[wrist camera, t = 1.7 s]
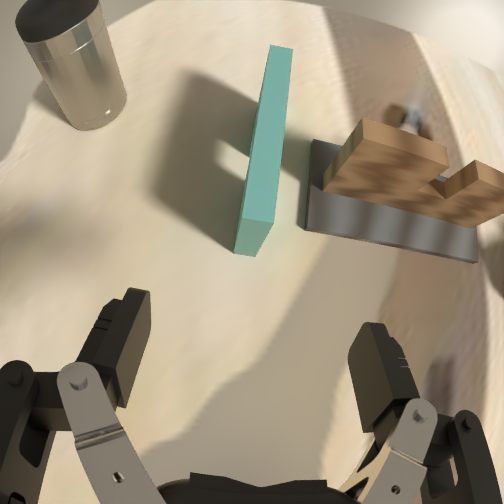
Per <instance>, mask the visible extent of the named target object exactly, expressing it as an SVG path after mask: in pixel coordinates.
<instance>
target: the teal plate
mask: <svg viewBox="0 0 504 504" xmlns="http://www.w3.org/2000/svg"><path fill="white" fill-rule="evenodd" d="M292 52H293V49H289V48H284V47H279V46H274V45H270V49H269V54H268V59H267V63H266V68H265V73H264V78H263V82H262V87H261V92H260V97H259V102H258V107H257V112H256V118H255V124H254V130H253V135H252V141H251V147H250V153H249V157H250V160H249V166H248V170H247V175H246V180H245V185H244V190H243V196H242V202H241V209H240V215H239V221H238V228H237V234H236V241H235V247H234V254H240V255H247V256H253V257H255V256H256V254H257V252H258V251H259V249H260V247H261V245H262V243H263V242H264V240H265V238H266V236H267V234H268V233H269V231H270V229H271V227H272V225H273V224H274V217H275V209H276V200H277V192H278V183H279V175H280V166H281V157H282V148H283V139H284V130H285V121H286V111H287V102H288V92H289V82H290V72H291V62H292Z"/></svg>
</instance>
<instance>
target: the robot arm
mask: <svg viewBox="0 0 504 504" xmlns="http://www.w3.org/2000/svg"><path fill="white" fill-rule="evenodd" d="M15 24H16V28H17V31H18V32H19V35H20V36H21V38H22V40H23V42H24V44H25V46H26V47H27V49H28V51H29V53H30V55H31V57H32V58H33V60H34V62H35V64H36V66H37V67H38V69H39V71H40V73H41V75H42V77H43V78H44V80H45V82H46V84H47V85H48V87H49V89H50V91H51V92H52V94H53V96H54V97H55V99H56V101H57V103H58V104H59V106H60V108H61V109H62V111H63V113H64V114H65V116H66V118H67V119H68V121H69V122H70V124H71V125H72V126H73V127H75V128H76V129H79V130H93V129H97V128H100V127H102V126H104V125H106V124H108V123H109V122H111V121H112V120H113V119H114V118H116V117H117V116H118V115H119V113H120V112H121V111H122V109H123V107H124V106H125V103H126V91H125V88H124V85H123V82H122V78H121V75H120V71H119V68H118V65H117V62H116V58H115V55H114V52H113V48H112V45H111V41H110V38H109V34H108V31H107V27H106V24H105V20H104V17H103V13H102V9H101V5H100V2H99V0H28V1H27V2H26V3H25V4H24V5H23V6H22V7H21V9H20V10H19V12H18V14H17V17H16V20H15ZM150 330H151V305H150V292H149V291H147V290H141V289H136V288H131V287H130V288H128V290H127V292H126V294H125V296H124V298H123V300H118V299H113V300H111V301H110V302H109V303H108V304H106V305H105V306H104V307H103V309H102V311H101V312H100V314H99V316H98V319H97V320H96V322H95V324H94V327H93V328H92V330H91V332H90V334H89V335H88V337H87V339H86V341H85V343H84V345H83V347H82V349H81V351H80V354H79V356H78V358H77V359H76V361H75V362H73V363H70V364H68V365H66V366H65V367H63V368H62V369H61V371H59V372H34V371H33V369H32V368H31V366H30V365H29V364H28V363H26V362H24V361H20V360H14V361H10V362H8V363H6V364H5V365H4V366H3V367H2V368H1V369H0V504H38V499H39V495H40V490H41V486H42V482H43V478H44V474H45V470H46V466H47V462H48V458H49V455H50V451H51V448H52V444H53V441H54V438H55V434H56V431H72V432H73V435H74V438H75V447H76V450H77V453H78V455H79V458H80V460H81V462H82V465H83V467H84V470H85V472H86V474H87V476H88V479H89V481H90V483H91V485H92V487H93V489H94V491H95V494H96V496H97V498H98V500H99V502H100V504H413V503H414V501H415V499H416V496H417V494H418V492H419V490H421V497H422V504H503V503H502V498H501V493H500V489H499V485H498V481H497V477H496V473H495V469H494V465H493V462H492V458H491V455H490V451H489V448H488V444H487V441H486V438H485V435H484V432H483V429H482V426H481V423H480V420H479V419H478V417H477V416H476V415H475V414H474V413H473V412H471V411H468V410H461V411H459V412H458V413H457V414H456V415H455V416H454V417H449V416H445V415H441V414H437V412H436V410H435V408H434V407H433V406H432V405H431V404H430V403H429V402H428V401H426V400H423V399H421V398H420V396H419V393H418V390H417V387H416V385H415V382H414V379H413V376H412V374H411V371H410V368H408V363H407V360H405V355H404V353H403V350H402V348H401V346H400V345H399V344H398V342H397V341H396V340H395V339H394V338H393V337H390V336H389V334H388V331H387V329H386V326H385V325H384V324H382V323H371V322H366V323H364V324H363V325H362V327H361V329H360V331H359V332H358V334H357V336H356V338H355V340H354V342H353V344H352V345H351V347H350V350H349V353H348V365H349V369H350V374H351V378H352V383H353V387H354V392H355V396H356V401H357V405H358V410H359V415H360V420H361V425H362V430H363V433H369V432H374V435H375V438H374V439H373V440H372V441H371V443H370V444H369V446H368V448H367V450H366V451H365V453H364V455H363V457H362V458H361V460H360V462H359V463H358V465H357V466H356V468H355V470H354V471H353V473H352V474H351V476H350V477H349V478H348V480H347V481H346V482H345V483H344V484H343V485H342V486H341V487H340V489H339V490H337V489H333V488H330V487H327V480H295V481H291V482H286V483H281V484H277V485H272V486H267V487H256V486H253V485H250V484H246V483H243V482H240V481H237V480H233V479H230V478H227V477H222V476H213V475H205V474H198V473H192V472H191V473H190V479H181V480H176V481H172V482H168V483H165V484H163V485H161V486H158V487H155V485H154V483H153V482H152V480H151V478H150V477H149V475H148V473H147V471H146V470H145V468H144V466H143V464H142V463H141V461H140V459H139V457H138V455H137V453H136V452H135V450H134V448H133V446H132V444H131V442H130V440H129V438H128V436H127V434H126V432H125V430H124V429H123V427H122V426H121V424H120V422H119V420H118V418H117V416H116V414H115V411H116V408H117V406H118V407H122V408H126V406H127V403H128V400H129V396H130V393H131V390H132V387H133V384H134V380H135V377H136V374H137V371H138V368H139V365H140V362H141V359H142V356H143V353H144V350H145V347H146V344H147V341H148V338H149V335H150ZM453 457H454V461H455V465H456V470H457V474H458V482H457V485H456V486H455V484H454V479H453V474H452V470H451V465H450V461H449V460H450V459H452V458H453Z"/></svg>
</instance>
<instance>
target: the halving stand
mask: <svg viewBox="0 0 504 504" xmlns="http://www.w3.org/2000/svg"><path fill="white" fill-rule="evenodd" d="M448 168H449V160H448V154H447V149H446V147H445V146H443V145H440V144H438V143H435V142H433V141H430V140H427V139H425V138H422V137H419V136H417V135H414V134H411V133H408V132H406V131H403V130H400V129H397V128H394V127H391V126H388V125H385V124H382V123H379V122H375V121H372V120H369V119H366V118H362V119H361V120H360V122H359V123H358V125H357V126H356V128H355V129H354V130H353V132H352V133H351V135H350V136H349V138H348V139H347V141H346V142H345V144H344V145H343V146H340V145H336V144H332V143H328V142H324V141H319V140H315V139H313V141H312V143H311V155H310V170H309V184H308V197H307V210H306V221H305V231H311V232H317V233H322V234H328V235H333V236H339V237H344V238H349V239H355V240H360V241H365V242H371V243H376V244H381V245H387V246H392V247H396V248H401V249H406V250H411V251H416V252H421V253H426V254H431V255H436V256H440V257H445V258H450V259H455V260H459V261H464V262H468V263H477V262H478V244H477V230H476V226H477V225H479V224H482V223H484V222H486V221H488V220H490V219H492V218H494V217H497V216H499V215H501V214H503V213H504V173H502V172H500V171H498V170H496V169H494V168H492V167H490V166H488V165H486V164H484V163H481V162H479V161H477V160H474V161H472V162H471V163H470V164H468V165H467V166H465V167H464V168H463V169H461V170H460V171H458V172H457V173H456V174H454V175H453V176H451V177H450V178H449V179H448V178H445V177H443V176H440V174H441V173H442V172H444V171H445V170H446V169H448Z"/></svg>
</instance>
